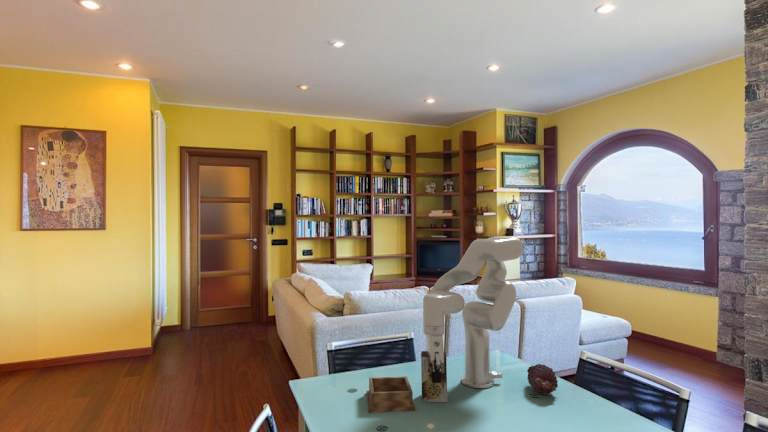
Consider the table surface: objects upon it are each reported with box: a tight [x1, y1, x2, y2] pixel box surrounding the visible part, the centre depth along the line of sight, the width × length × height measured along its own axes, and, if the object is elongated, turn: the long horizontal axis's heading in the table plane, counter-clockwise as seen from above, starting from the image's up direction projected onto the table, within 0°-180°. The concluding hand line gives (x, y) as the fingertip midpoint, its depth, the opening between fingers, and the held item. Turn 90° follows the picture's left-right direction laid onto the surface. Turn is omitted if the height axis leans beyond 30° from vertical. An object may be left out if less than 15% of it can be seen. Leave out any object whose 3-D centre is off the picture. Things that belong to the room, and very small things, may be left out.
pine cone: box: [527, 363, 559, 396], centre depth 157 cm, size 18×10×10 cm, turn 4°
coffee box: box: [420, 350, 448, 403], centre depth 151 cm, size 9×6×16 cm
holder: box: [365, 376, 417, 414], centre depth 149 cm, size 16×16×6 cm
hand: (434, 377), depth 151 cm, fingers open, 7 cm apart
